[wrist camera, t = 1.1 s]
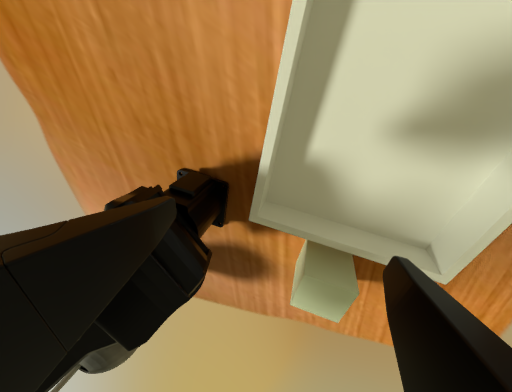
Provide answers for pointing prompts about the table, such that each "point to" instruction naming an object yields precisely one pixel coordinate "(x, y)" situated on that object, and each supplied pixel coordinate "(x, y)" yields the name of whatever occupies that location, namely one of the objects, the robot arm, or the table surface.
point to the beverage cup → (99, 362)
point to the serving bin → (392, 130)
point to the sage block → (324, 281)
